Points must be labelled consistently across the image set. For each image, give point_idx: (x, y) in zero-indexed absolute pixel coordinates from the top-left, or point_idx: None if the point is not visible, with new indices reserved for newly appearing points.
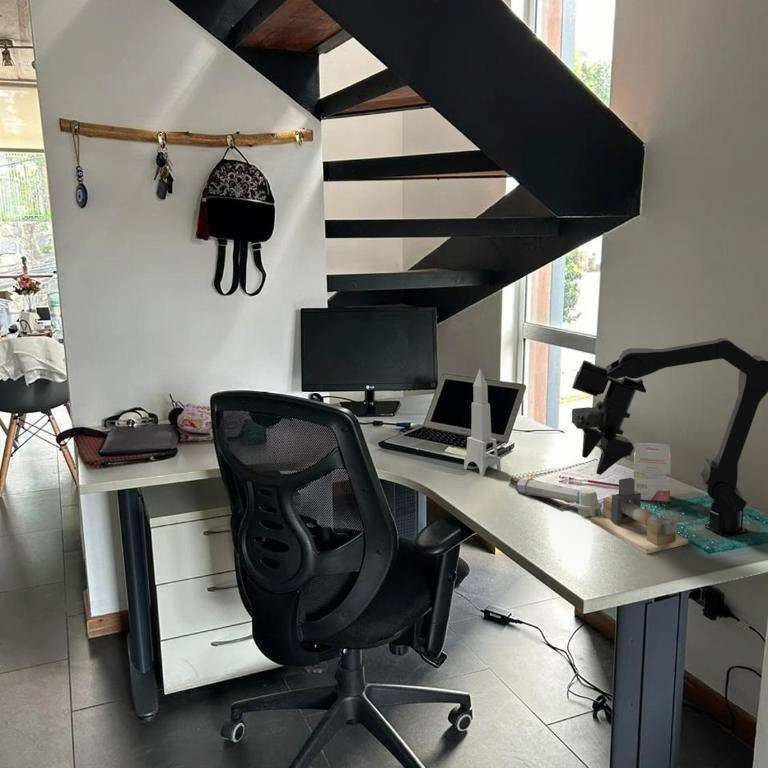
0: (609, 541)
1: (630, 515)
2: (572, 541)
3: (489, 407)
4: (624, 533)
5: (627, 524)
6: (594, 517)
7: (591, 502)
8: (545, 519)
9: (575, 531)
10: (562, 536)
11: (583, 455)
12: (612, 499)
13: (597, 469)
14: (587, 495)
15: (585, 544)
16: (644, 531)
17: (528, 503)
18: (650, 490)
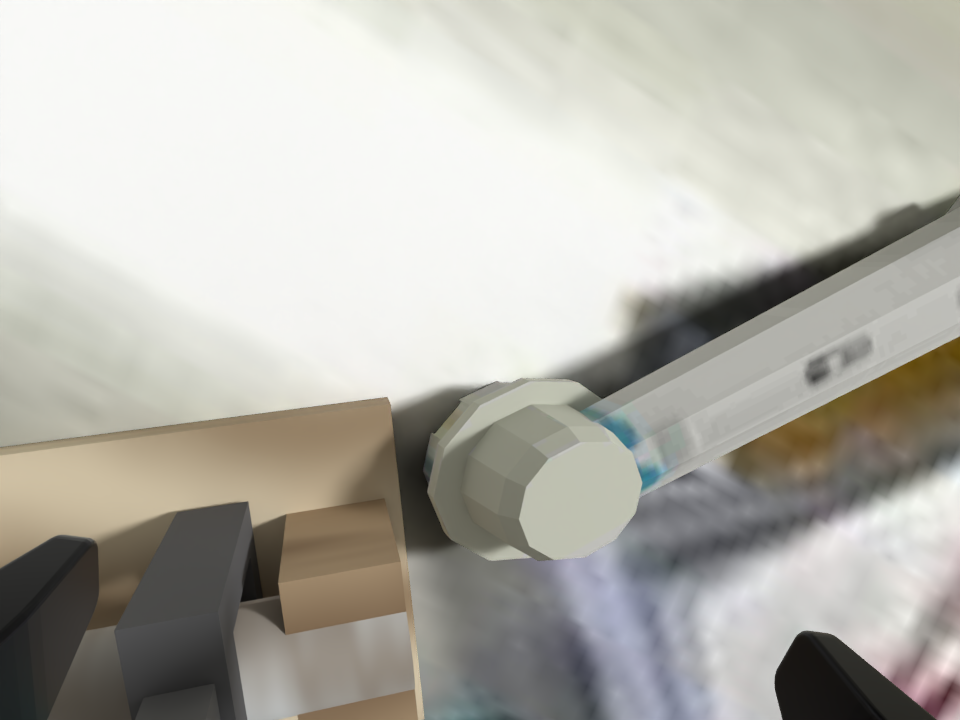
0: (4, 347)
1: None
2: (94, 79)
3: None
4: (19, 492)
5: None
6: (386, 431)
7: (477, 471)
8: (547, 115)
9: (268, 205)
10: (212, 59)
11: (813, 655)
12: (215, 591)
13: (21, 582)
14: (521, 466)
15: (4, 144)
16: None
17: (832, 155)
18: None
